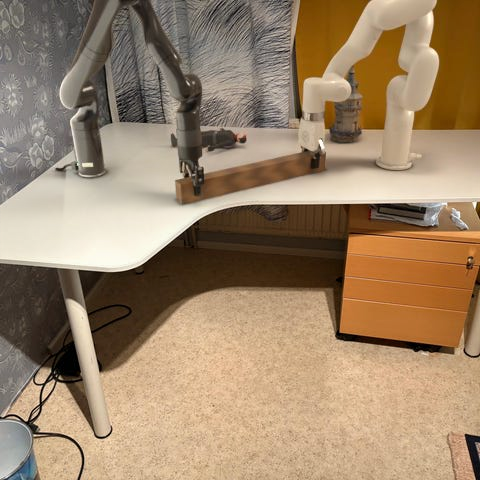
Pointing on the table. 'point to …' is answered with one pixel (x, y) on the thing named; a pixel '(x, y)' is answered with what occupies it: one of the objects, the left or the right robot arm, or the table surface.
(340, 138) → the miniature building
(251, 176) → the post
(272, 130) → the table surface
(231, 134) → the toy
